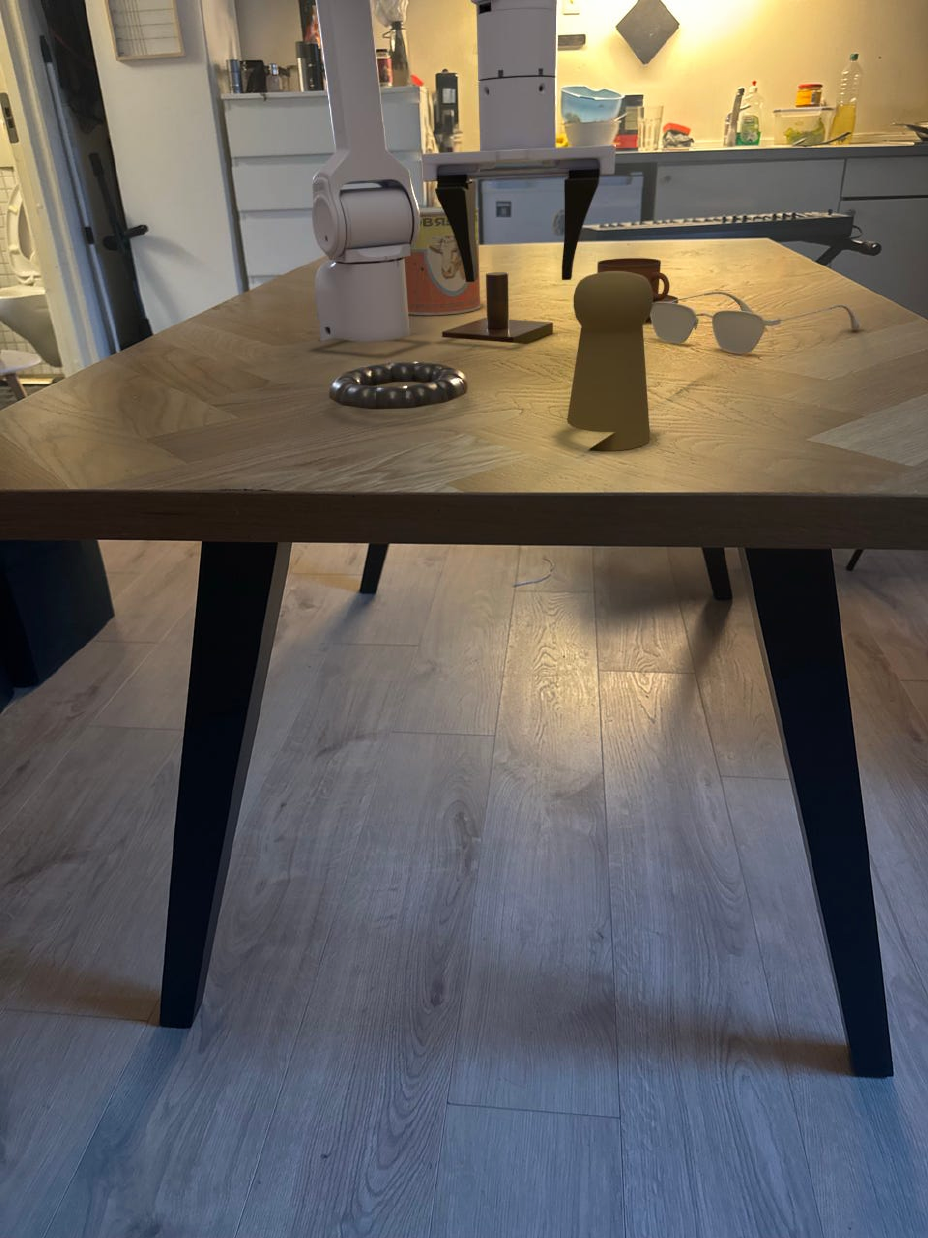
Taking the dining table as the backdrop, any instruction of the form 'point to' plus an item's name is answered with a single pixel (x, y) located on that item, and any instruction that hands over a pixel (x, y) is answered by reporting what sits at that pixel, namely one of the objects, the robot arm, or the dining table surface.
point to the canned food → (439, 269)
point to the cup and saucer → (644, 268)
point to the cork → (611, 359)
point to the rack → (500, 318)
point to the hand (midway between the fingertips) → (519, 279)
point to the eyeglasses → (719, 324)
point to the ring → (362, 392)
